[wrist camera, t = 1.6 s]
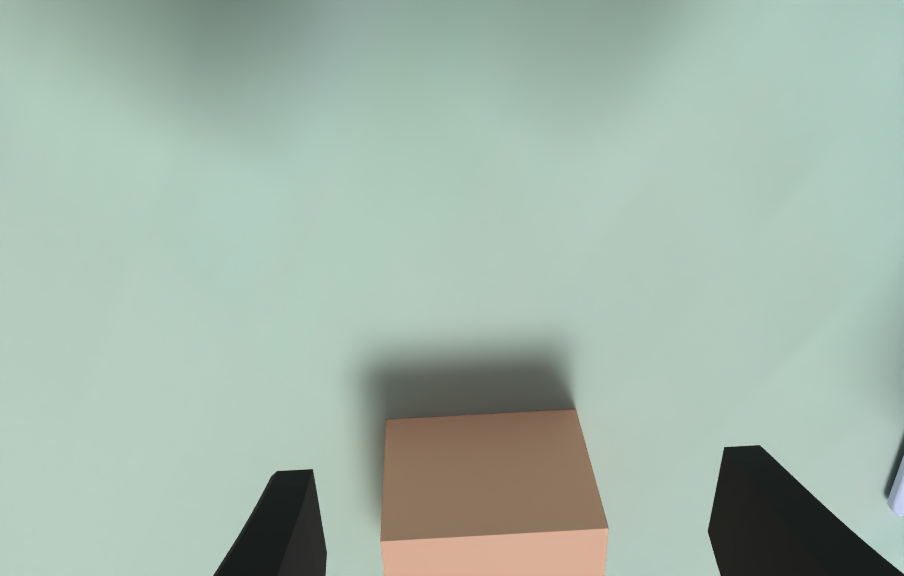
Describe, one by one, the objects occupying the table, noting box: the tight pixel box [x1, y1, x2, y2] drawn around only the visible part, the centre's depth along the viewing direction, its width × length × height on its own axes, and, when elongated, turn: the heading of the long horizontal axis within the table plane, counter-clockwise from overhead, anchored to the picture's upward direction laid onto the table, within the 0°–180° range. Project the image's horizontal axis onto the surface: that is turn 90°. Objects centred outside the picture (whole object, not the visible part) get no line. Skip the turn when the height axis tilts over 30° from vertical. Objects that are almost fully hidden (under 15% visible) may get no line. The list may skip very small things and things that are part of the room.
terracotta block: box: [380, 409, 609, 576], centre depth 24 cm, size 6×6×5 cm
